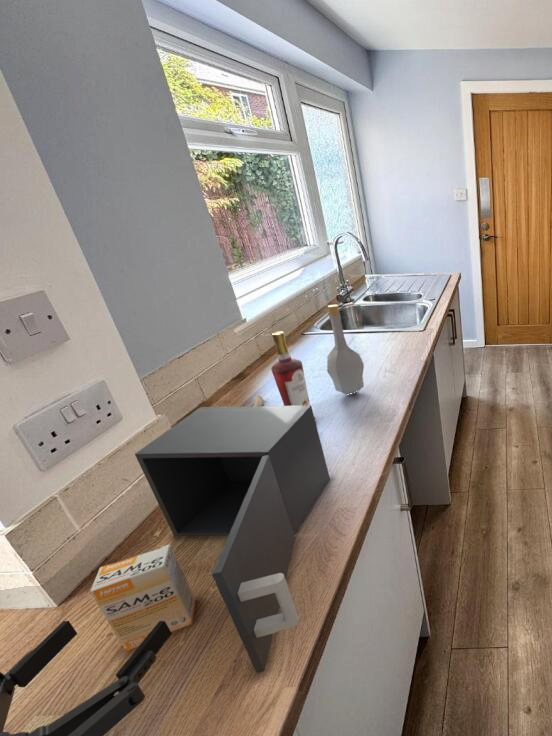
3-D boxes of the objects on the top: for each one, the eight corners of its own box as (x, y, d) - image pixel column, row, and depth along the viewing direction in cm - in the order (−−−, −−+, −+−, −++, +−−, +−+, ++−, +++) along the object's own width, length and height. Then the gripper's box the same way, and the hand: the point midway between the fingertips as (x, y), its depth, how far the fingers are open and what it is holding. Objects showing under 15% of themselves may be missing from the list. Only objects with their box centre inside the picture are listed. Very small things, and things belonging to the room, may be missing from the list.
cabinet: (295, 536, 78) (267, 452, 70) (174, 537, 79) (134, 453, 71) (330, 480, 93) (311, 405, 85) (228, 481, 94) (200, 407, 86)
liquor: (303, 416, 119) (279, 327, 108) (322, 420, 117) (300, 330, 106) (282, 430, 113) (254, 336, 102) (302, 434, 110) (276, 339, 100)
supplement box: (125, 654, 59) (86, 593, 54) (134, 626, 63) (98, 566, 58) (194, 625, 63) (163, 565, 58) (198, 600, 67) (169, 541, 62)
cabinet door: (325, 531, 79) (302, 448, 71) (305, 658, 58) (269, 560, 50) (290, 540, 77) (262, 456, 70) (256, 673, 56) (211, 574, 48)
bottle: (352, 406, 124) (333, 313, 112) (325, 400, 128) (303, 309, 116) (376, 389, 134) (361, 302, 122) (350, 384, 138) (332, 299, 126)
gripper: (-201, 882, 38) (44, 644, 58) (54, 887, 37) (214, 644, 57) (-263, 847, 35) (17, 609, 55) (12, 852, 34) (196, 609, 54)
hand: (118, 626), depth 56 cm, fingers open, 13 cm apart
